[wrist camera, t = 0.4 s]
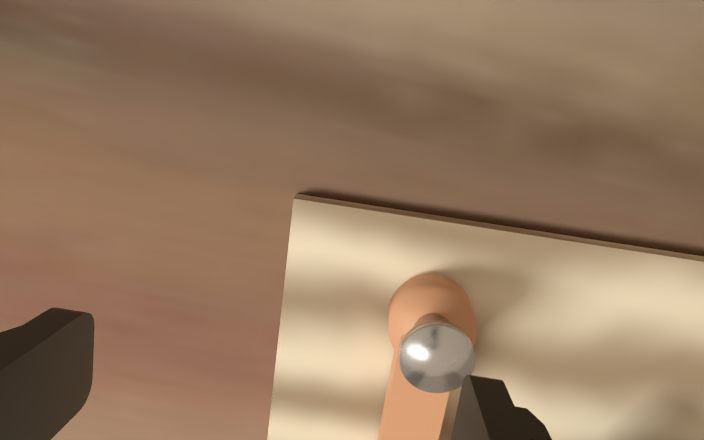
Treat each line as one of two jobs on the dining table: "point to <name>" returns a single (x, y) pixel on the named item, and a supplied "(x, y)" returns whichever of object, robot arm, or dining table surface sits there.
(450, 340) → the silver metal ball
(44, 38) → the dining table surface
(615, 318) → the board
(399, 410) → the link
